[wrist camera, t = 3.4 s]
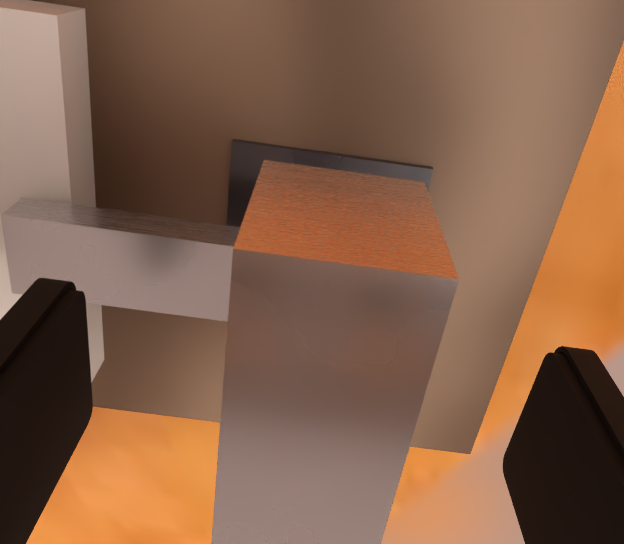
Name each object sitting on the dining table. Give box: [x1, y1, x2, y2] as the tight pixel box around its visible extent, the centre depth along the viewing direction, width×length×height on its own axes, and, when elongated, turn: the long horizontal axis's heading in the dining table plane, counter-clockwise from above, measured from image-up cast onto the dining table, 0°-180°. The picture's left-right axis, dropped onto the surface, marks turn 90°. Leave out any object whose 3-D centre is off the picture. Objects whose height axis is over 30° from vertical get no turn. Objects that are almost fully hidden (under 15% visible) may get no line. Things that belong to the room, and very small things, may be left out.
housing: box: [32, 0, 624, 454], centre depth 17 cm, size 24×14×4 cm, turn 83°
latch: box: [1, 160, 459, 544], centre depth 12 cm, size 8×8×8 cm
